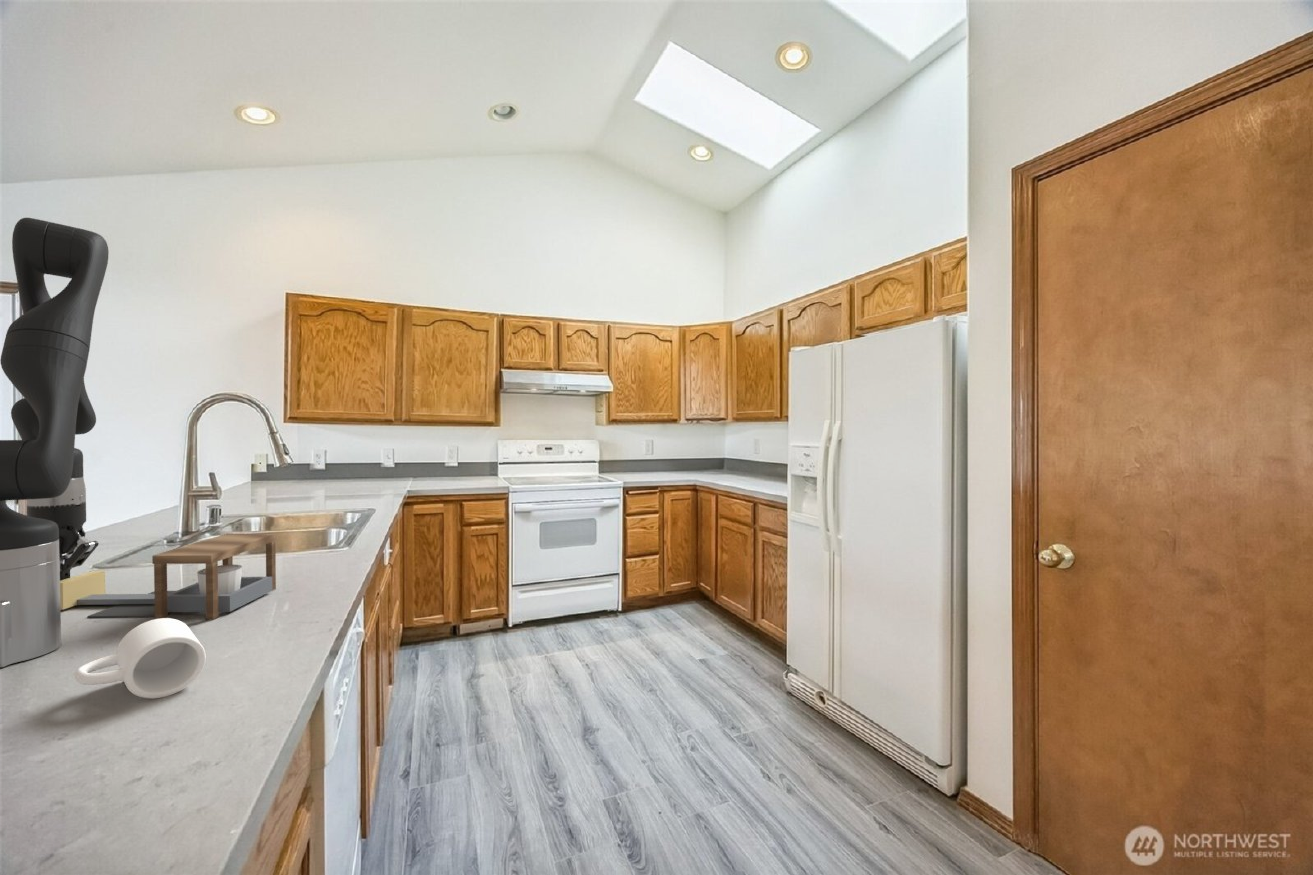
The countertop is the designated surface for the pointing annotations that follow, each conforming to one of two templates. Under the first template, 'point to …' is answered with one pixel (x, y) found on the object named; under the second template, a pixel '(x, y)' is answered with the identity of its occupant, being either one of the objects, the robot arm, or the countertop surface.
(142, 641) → the mug
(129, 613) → the mat
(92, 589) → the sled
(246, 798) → the countertop surface
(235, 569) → the white cup
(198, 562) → the small wooden table
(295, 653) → the countertop surface
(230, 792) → the countertop surface
